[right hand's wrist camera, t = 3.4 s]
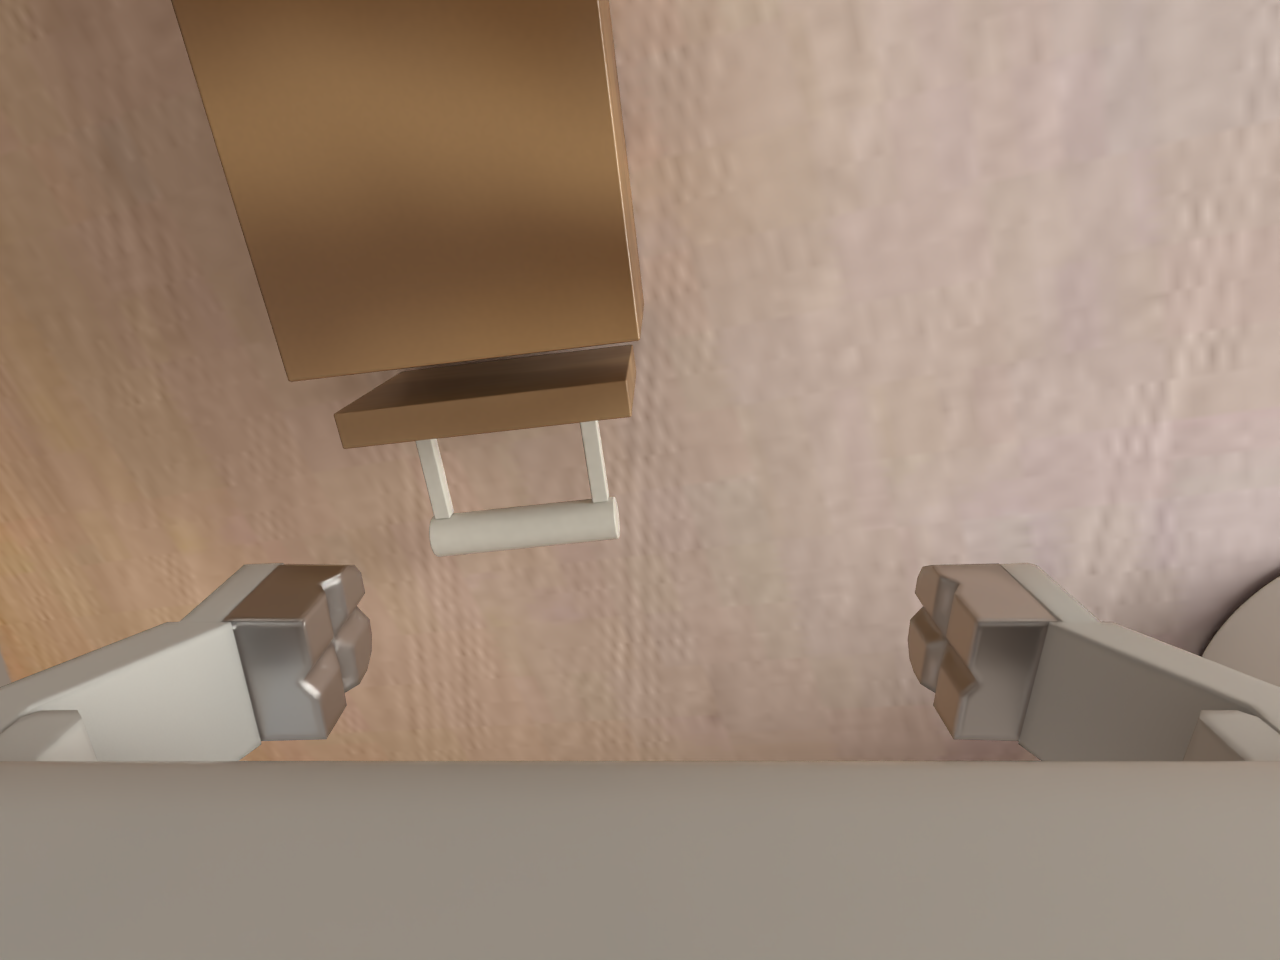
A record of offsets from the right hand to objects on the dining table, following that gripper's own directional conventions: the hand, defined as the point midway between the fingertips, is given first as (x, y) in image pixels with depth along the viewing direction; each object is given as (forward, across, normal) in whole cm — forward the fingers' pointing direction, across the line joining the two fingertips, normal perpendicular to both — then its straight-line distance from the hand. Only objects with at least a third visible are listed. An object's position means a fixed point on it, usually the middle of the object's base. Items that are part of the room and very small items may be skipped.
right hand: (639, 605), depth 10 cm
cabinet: (+20, +6, -10) cm, 23 cm away
